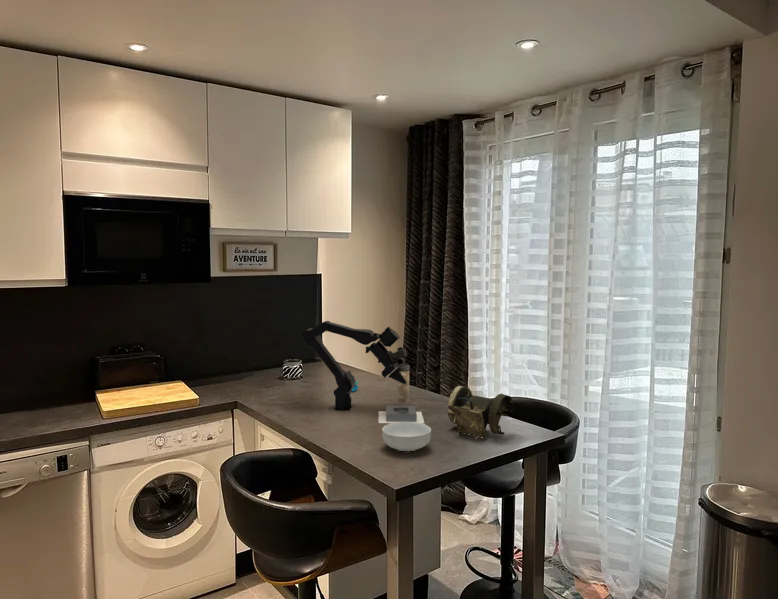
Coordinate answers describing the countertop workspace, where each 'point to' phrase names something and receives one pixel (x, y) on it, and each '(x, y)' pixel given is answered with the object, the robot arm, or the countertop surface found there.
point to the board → (383, 420)
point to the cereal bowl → (406, 435)
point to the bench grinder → (477, 411)
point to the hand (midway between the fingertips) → (407, 382)
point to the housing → (401, 414)
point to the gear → (355, 386)
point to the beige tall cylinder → (404, 388)
